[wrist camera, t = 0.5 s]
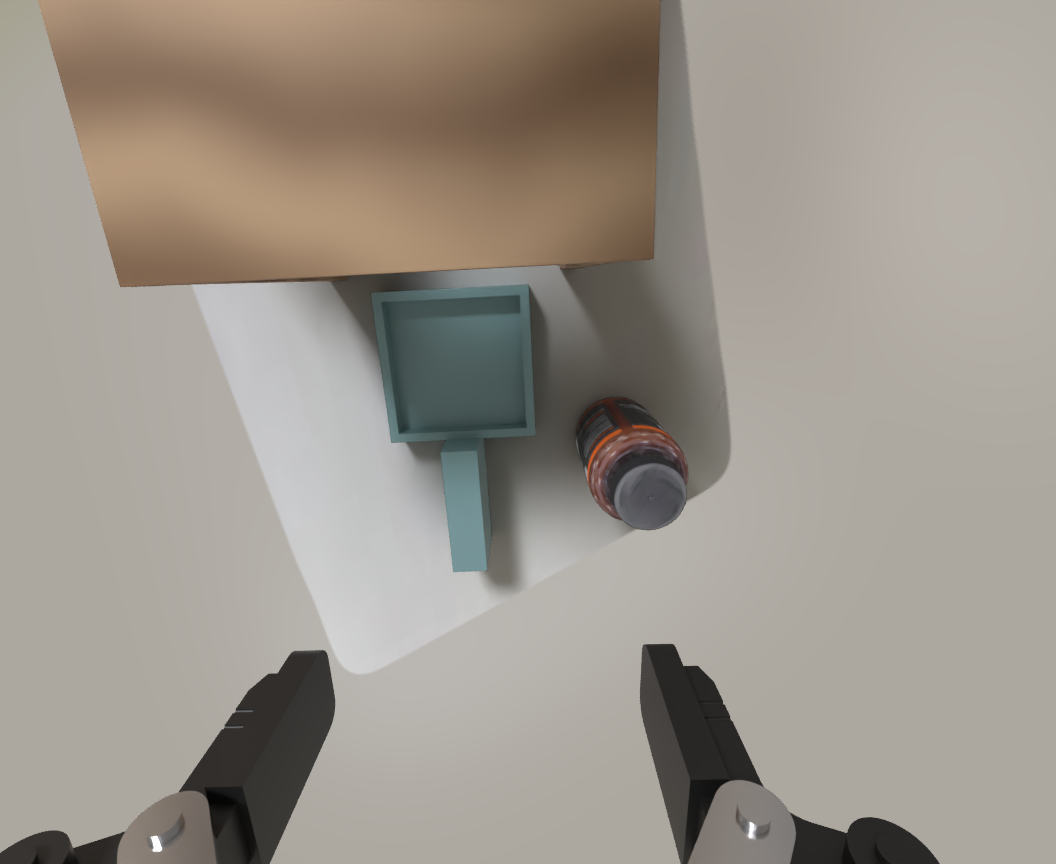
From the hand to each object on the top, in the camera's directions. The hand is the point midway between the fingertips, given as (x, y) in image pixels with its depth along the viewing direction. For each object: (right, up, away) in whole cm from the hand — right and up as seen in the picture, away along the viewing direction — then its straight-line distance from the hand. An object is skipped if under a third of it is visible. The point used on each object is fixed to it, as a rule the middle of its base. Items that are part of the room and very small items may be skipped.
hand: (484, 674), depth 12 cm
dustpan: (-3, +7, +24) cm, 26 cm away
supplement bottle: (+8, +6, +25) cm, 27 cm away
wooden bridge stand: (-4, +22, +20) cm, 30 cm away
